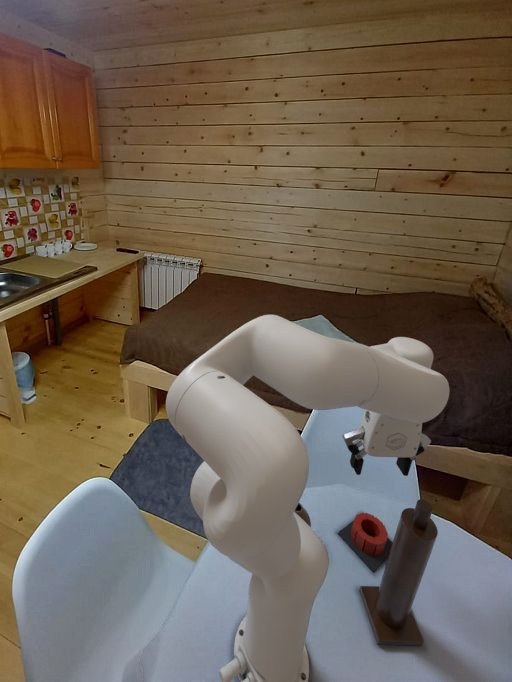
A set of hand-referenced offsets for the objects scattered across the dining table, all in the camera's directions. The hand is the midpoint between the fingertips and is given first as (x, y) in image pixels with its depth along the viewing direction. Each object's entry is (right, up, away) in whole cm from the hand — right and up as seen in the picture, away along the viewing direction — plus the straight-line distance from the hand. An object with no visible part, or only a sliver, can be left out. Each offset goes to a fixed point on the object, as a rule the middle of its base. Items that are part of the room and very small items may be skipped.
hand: (378, 469), depth 70 cm
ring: (+1, -19, +6) cm, 20 cm away
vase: (-16, -19, +7) cm, 26 cm away
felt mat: (+1, -20, +6) cm, 21 cm away
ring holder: (-1, -24, -6) cm, 25 cm away
